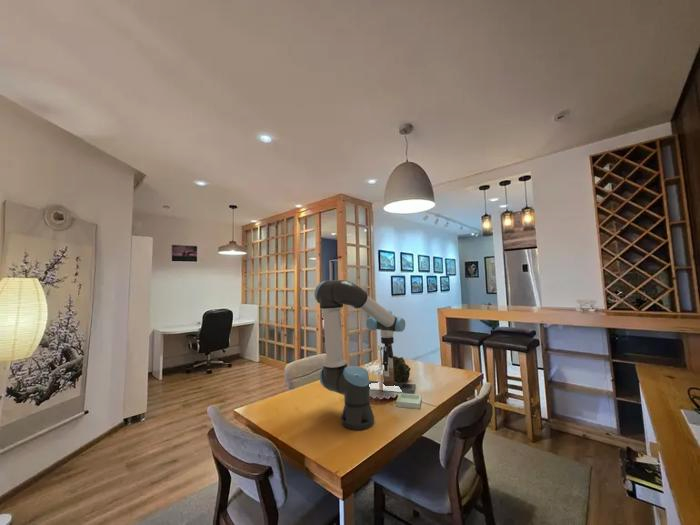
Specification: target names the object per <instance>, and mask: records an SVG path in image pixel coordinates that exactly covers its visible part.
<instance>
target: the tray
mask: <svg viewBox="0 0 700 525" xmlns="http://www.w3.org/2000/svg"><path fill="white" fill-rule="evenodd" d="M422 399H423V398H422V394H415V393H414V394H408V393H398V396H397V398H396V401H395V404H396V407H397V408H406V409H413V410H414V409H415V410H421V404H422Z"/></svg>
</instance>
